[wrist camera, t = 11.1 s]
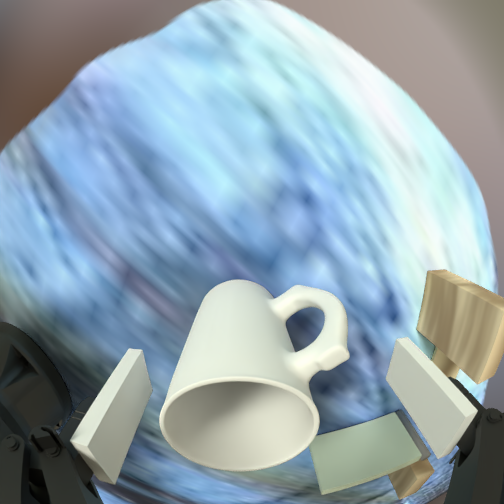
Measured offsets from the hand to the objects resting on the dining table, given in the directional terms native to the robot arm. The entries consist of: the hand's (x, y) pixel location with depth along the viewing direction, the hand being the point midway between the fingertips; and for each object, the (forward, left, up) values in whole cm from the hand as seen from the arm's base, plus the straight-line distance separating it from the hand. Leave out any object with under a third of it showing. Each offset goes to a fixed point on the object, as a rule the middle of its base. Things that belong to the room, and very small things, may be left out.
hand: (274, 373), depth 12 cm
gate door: (+11, -17, -8) cm, 22 cm away
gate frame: (+20, -10, -9) cm, 24 cm away
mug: (0, 0, -9) cm, 9 cm away
